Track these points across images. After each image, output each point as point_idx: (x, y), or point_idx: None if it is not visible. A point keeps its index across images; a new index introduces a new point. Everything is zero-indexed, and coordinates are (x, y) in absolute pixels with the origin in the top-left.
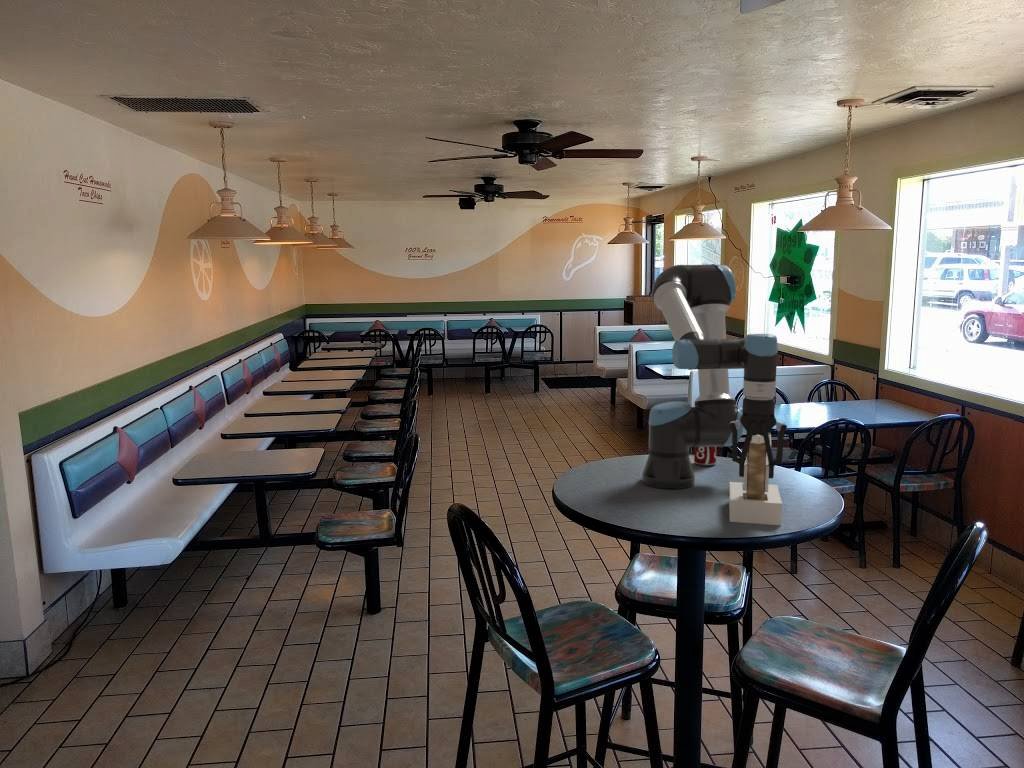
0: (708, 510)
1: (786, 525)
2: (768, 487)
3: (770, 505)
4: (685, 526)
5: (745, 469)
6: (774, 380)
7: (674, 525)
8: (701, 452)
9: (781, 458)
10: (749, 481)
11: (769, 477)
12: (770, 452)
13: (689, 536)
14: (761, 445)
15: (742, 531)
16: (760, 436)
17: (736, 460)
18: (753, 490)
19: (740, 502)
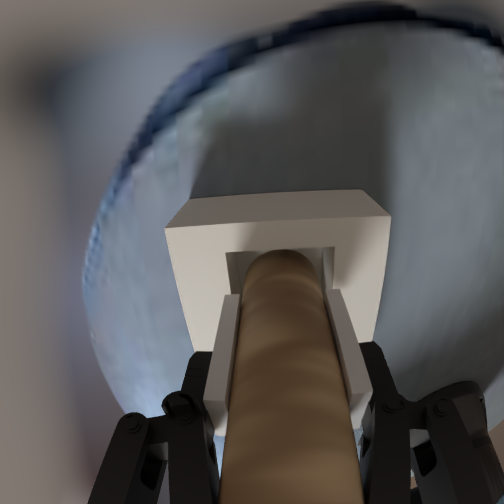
0: (410, 282)
1: (173, 207)
2: None
3: (214, 220)
4: (477, 118)
5: (359, 370)
6: None
7: (498, 125)
8: None
9: (114, 442)
10: (321, 318)
11: (211, 355)
12: (180, 491)
13: (459, 34)
14: None
15: (317, 95)
16: None
17: (429, 406)
18: (294, 282)
19: (347, 215)
